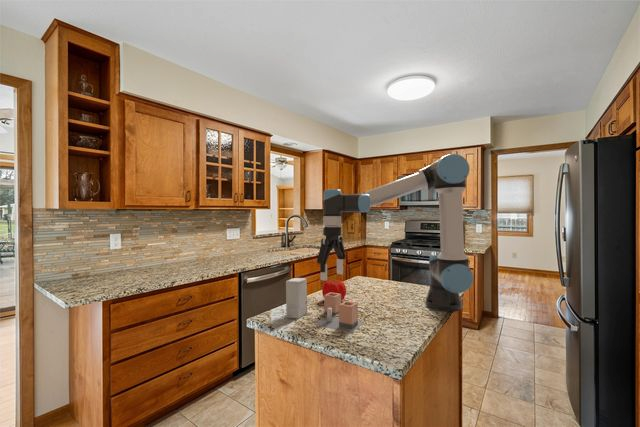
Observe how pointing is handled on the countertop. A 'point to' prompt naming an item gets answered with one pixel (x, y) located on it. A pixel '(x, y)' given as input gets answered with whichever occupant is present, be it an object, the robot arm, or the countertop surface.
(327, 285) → the tomato
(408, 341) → the countertop surface
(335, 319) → the pin board
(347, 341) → the countertop surface
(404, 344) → the countertop surface
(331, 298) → the sleeve free
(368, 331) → the countertop surface
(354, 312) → the sleeve seated
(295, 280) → the skincare box
